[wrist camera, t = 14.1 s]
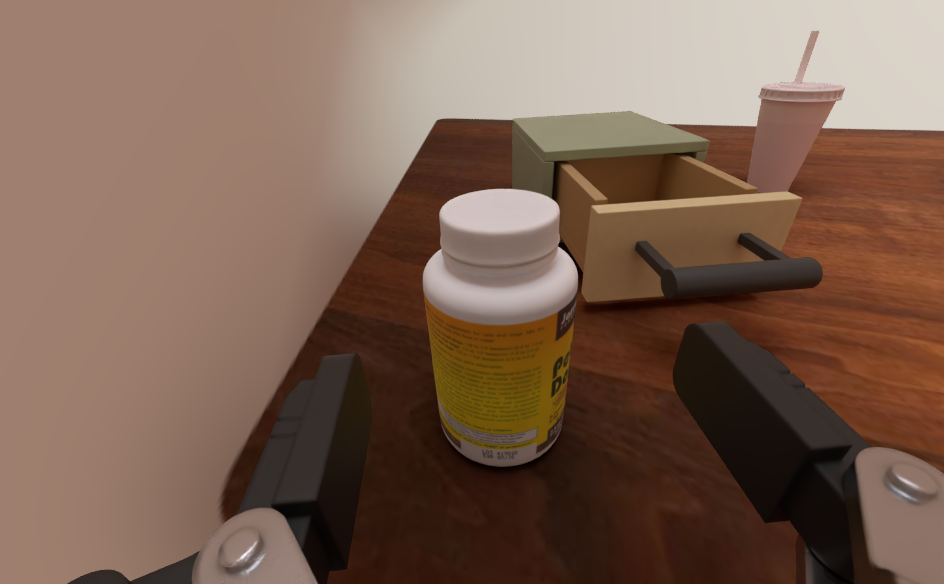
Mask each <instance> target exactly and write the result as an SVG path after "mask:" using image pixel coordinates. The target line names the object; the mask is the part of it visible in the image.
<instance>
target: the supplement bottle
mask: <svg viewBox="0 0 944 584" xmlns="http://www.w3.org/2000/svg"><path fill="white" fill-rule="evenodd" d="M439 218H440V229H441V238H440V244H441V247H442V249H441V250H439V251H438V252H437V253H436V254H434V255H433V256H432V258H431V259H430V260H429V262H428V263H427V265H426V267H425V270H424V273H423V290H424V299H425V306H426V314H427V321H428V329H429V336H430V344H431V352H432V360H433V369H434V376H435V384H436V391H437V399H438V407H439V414H440V420H441V425H442V428H443V431H444V433H445V435H446V437H447V438H448V440H449V441H450V443H451V444H452V445H453V446H454V447H455V449H457V450H458V451H459V452H460V453H461V454H463V455H464V456H466V457H467V458H469V459H471V460H473V461H476V462H478V463H482V464H485V465H489V466H499V467H506V466H515V465H520V464H524V463H527V462H529V461H532V460H534V459H536V458H537V457H539V456H541V455H542V454H543V453H545V452H546V451H547V450H548V449H549V448H550V447H551V446H552V444H553V443H554V442H555V440H556V439H557V437H558V435H559V433H560V430H561V426H562V422H563V415H564V408H565V397H566V389H567V380H568V371H569V361H570V353H571V344H572V336H573V326H574V317H575V307H576V299H577V290H578V272H577V269H576V266H575V264H574V262H573V260H572V259H571V258H570V256H569V255H568V254H567V253H566V252H565V251H564V250H562V249H561V248H560V247H558V244H559V241H560V235H559V220H560V210H559V206H558V204H557V203H556V202H555V201H554V200H552V199H551V198H549V197H547V196H545V195H542V194H539V193H536V192H531V191H526V190H516V189H491V190H482V191H477V192H472V193H467V194H464V195H461V196H458V197H456V198H454V199H452V200H450V201H448V202H447V203H446V204H445V205H444V206H443V207H442V208H441V210H440V213H439Z"/></svg>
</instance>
